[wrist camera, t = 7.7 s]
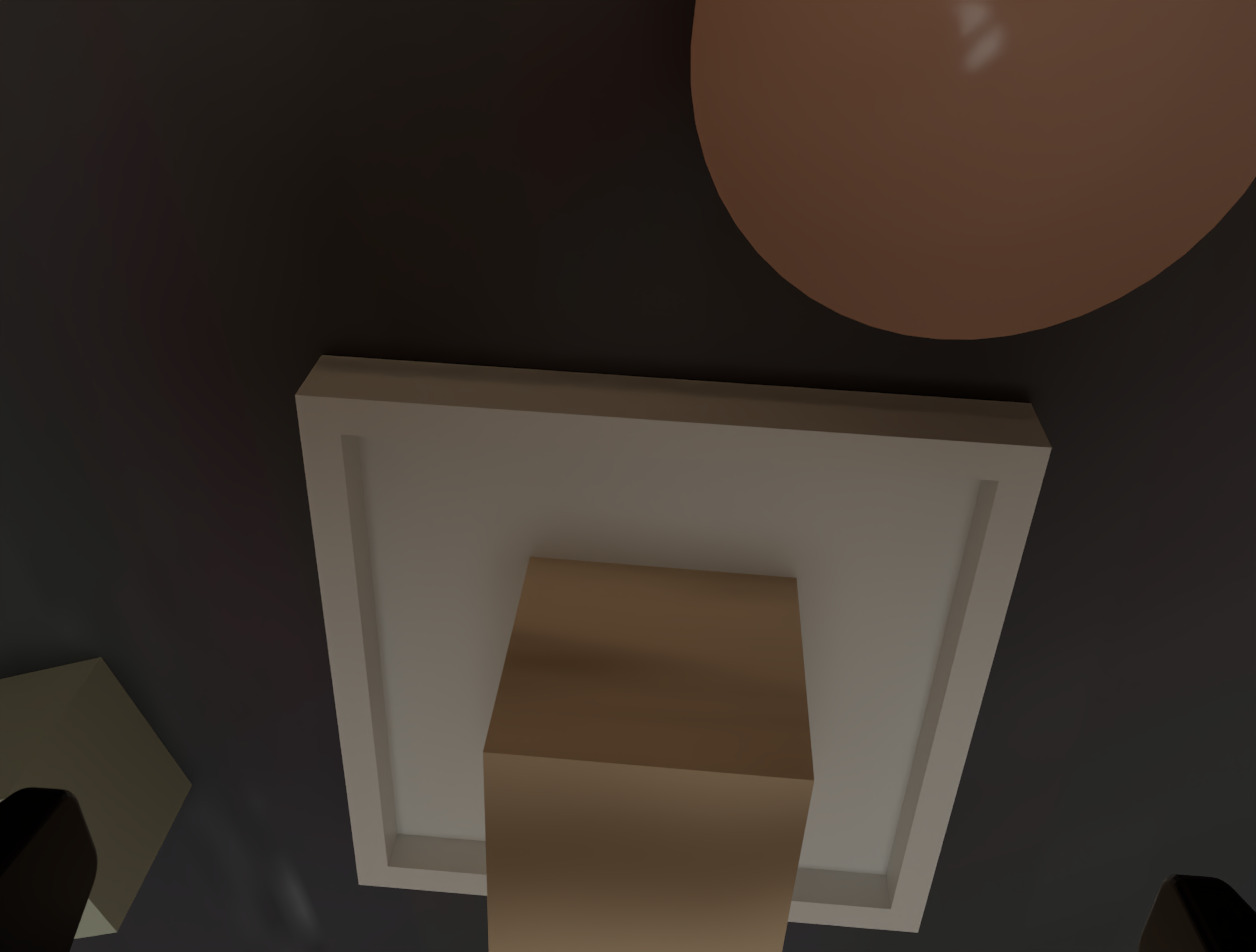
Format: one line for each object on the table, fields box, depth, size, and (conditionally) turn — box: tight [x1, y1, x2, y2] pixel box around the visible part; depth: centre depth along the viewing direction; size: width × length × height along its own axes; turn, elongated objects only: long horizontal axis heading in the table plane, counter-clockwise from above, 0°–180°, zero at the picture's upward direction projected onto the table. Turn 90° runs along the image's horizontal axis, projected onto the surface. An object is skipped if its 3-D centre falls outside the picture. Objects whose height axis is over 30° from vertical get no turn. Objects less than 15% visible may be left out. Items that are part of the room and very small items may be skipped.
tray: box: [295, 355, 1052, 933], centre depth 23 cm, size 12×12×2 cm
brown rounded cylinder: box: [691, 0, 1256, 340], centre depth 14 cm, size 6×6×6 cm
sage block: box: [0, 657, 192, 939], centre depth 24 cm, size 4×4×4 cm
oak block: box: [483, 557, 814, 952], centre depth 21 cm, size 5×5×5 cm
